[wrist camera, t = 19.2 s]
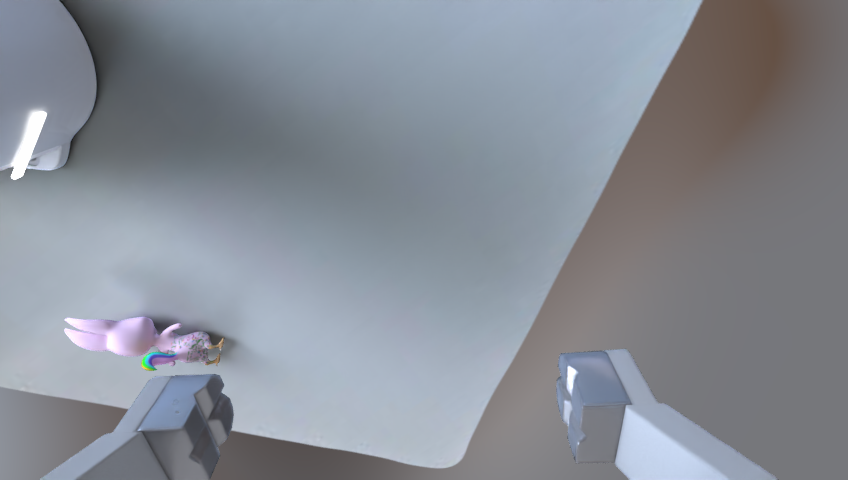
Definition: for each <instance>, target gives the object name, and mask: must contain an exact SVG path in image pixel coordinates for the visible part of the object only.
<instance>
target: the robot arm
mask: <svg viewBox="0 0 848 480" xmlns="http://www.w3.org/2000/svg"><path fill="white" fill-rule="evenodd" d="M96 91H97V80H96V72H95V66H94V62H93V59H92V55H91V52H90V50H89V47H88V45H87V42H86V40H85V38H84V36H83V34H82V32H81V30H80V29H79V27H78V25H77V23H76V22H75V20H74V19H73V17H72V16H71V15H70V13H69V12H68V10H67V9H66V8H65V7H64V5H63V4H62V3H61V2H60V1H59V0H0V171H1V170H4V169H7V168H9V167H15V168H14V170H13V173H12V176H11V178H12V179H14V180H15V179H17V178H20V177H22V176H23V174H24V172H25V169H26V168H29V169H39V170H54V169H57V168H60V167H62V166H64V165H65V163H66V161H67V158H68V155H69V149H70V143H71V140H72V138H73V136H74V135H75V134H76V133H77V132H78V131H79V130H80V128H81V127H82V126H83V125H84V124H85V123H86V121H87V120H88V118H89V116H90V114H91V112H92V110H93V107H94V103H95V99H96ZM558 367H559V370H560V373H561V376H560V377H559V378H558V379H557V388H556V392H557V402H558V407H559V412H560V415H561V418H562V421H563V422H564V423H566V424H567V425H568V441H569V444H570V447H571V450H572V453H573V456H574V459H575V462H576V463H615V465H616V466H617V467H618V468H619V469H620V470H621V471H622V472H623V473H624V474H625V475H626V476H627V477H628V478H629V479H630V480H778V478H777V477H775V476H773V475H772V474H771V473H769V472H768V471H766V470H765V469H763V468H762V467H760V466H759V465H757V464H756V463H754V462H753V461H751V460H750V459H748V458H747V457H745V456H744V455H742V454H741V453H739V452H738V451H736V450H735V449H733V448H732V447H730V446H729V445H727V444H726V443H724V442H723V441H721V440H720V439H718V438H717V437H715V436H714V435H712V434H711V433H709V432H708V431H706V430H705V429H703V428H702V427H700V426H699V425H697V424H696V423H694V422H693V421H691V420H690V419H688V418H687V417H685V416H684V415H682V414H681V413H679V412H678V411H676V410H675V409H673V408H672V407H670V406H669V405H667V404H666V403H658V402H657V400H656V398H655V396H654V394H653V393H652V391H651V389H650V387H649V385H648V384H647V382H646V380H645V378H644V377H643V375H642V373H641V371H640V370H639V368H638V366H637V364H636V362H635V361H634V359H633V357H632V355H631V354H630V352H629V351H628V350H626V349H616V350H604V351H588V352H574V353H561V354H560V356H559V362H558ZM223 387H224V383H223V381H222V379H221V377H220V375H216V374H204V375H175V376H157V377H154V378H152V379H151V380H149V381H148V382H147V384H146V385H145V387H144V388H143V390H142V391H141V392H140V394H139V395H138V397H137V398H136V400H135V401H134V403H133V404H132V405H131V407H130V408H129V410H128V411H127V413H126V414H125V416H124V417H123V418H122V420H121V421H120V423H119V424H118V426H117V427H116V428H115V430H114V431H113V433H109V434H105V435H103V436H102V437H100V438H99V439H97V440H96V441H95V442H93V443H92V444H90V445H89V446H87V447H86V448H84V449H83V450H81V451H80V452H78V453H77V454H76V455H74V456H73V457H71V458H70V459H68V460H67V461H66V462H64V463H63V464H61V465H60V466H58V467H57V468H55V469H54V470H53V471H51V472H49V473H48V474H47V475H45V476H44V477H42V478H41V479H39V480H210V478H211V475H212V473H213V471H214V468H215V466H216V464H217V462H218V459H219V457H220V453H219V450H218V448H217V447H218V446H219V445H221V444H222V443H223V442H224V441H225V440H226V439H227V438H228V436H229V433H230V431H231V429H232V423H233V416H234V414H233V406H232V403H231V401H230V398H228V397H227V396H226V395H224V394H223V393H221V391H222V389H223Z"/></svg>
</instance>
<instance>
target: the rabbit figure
mask: <svg viewBox="0 0 848 480" xmlns="http://www.w3.org/2000/svg"><path fill="white" fill-rule="evenodd" d="M65 321H66V322H68V323H69V324H71V325H73V326H74V327H76V328H78V329H80V330H82V331H86V332H81V331H76V330H71V329H65V333H66V334H67V335H68V337H69V338H70V339H71V340H72V341H73V342H74V343H75V344H77V345H78V346H80V347H82V348H85V349H88V350H92V351H108V350H110V351H112V352H114V353H116V354H118V355H122V356H130V357H134V356H140V355H143V354H145V353H146V352H147V351H148V350H149V349H150V348H151V347H152V346H157V347H158V348H159V350H160V352H152V353H150V354H148V355H146V356H145V357H144V358H143V360H142V363H141V366H142V367H143V368H144V369H145V370H148V371H154V370H157V369H155V367H154V366H155V365H162V364H166V363H168V364H169V365H170V366H174V365H175V361H174V360H180V361H182V362H185V363H192V362H202V363H204V364H205V365H209V364H212V363H216V366H218V365H217V363H219V360H220V355H221V353H219V355H218V356H217V358H216V359H215V360H213V361H210V360H209V359H208V349H207V348H209V349H212V348H217V347H219V348H220V350H221V348H222V347H223V344H224V340H223V339H224V338H222V340H221V342H220V343H219V344H218V345H215V346H214V345H212V344H211V342H210V336H209V335H208V334H207V333H205V332H194V333H191V334H187V335H183V336H180V335H178V334H176V333H171V332H172V331H173V330H175V329H179V328H181V326H182V324H181V323H177V324H174V325H172V326H170V327H168V328H167V329H166V330H164V331H163V332H162V334H161V335H157V334H156V333H157V330H156V329H155V328H154V323H153V321H152V320H151V319H150V318H148V317H138V318H130V319H126V320H122V321H112V320H86V319H74V318H66V319H65ZM87 332H90V333H87ZM169 350H171V351H172V352H174V354H171V355H170V354H168V351H169ZM221 351H222V350H221Z"/></svg>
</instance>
